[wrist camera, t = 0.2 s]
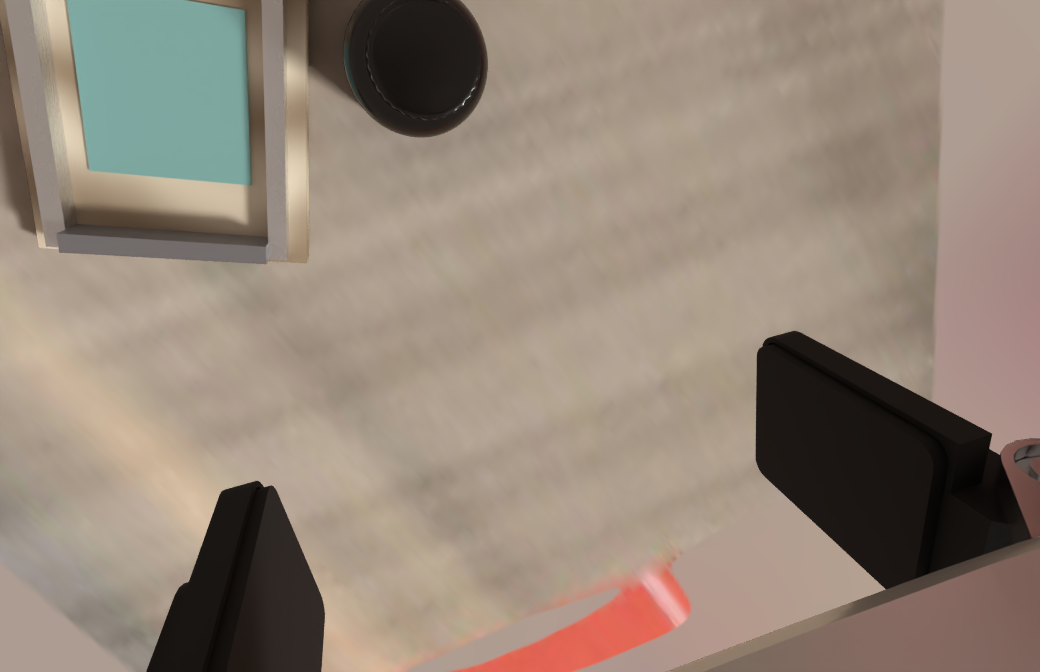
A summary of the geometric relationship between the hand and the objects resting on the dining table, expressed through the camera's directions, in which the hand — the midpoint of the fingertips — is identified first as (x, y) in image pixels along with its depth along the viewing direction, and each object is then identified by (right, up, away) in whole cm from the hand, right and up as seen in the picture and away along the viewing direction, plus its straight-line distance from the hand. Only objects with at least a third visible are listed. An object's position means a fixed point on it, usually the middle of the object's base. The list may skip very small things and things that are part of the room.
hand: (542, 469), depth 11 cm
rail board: (-20, +16, +21) cm, 33 cm away
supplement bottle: (-7, +19, +24) cm, 31 cm away
